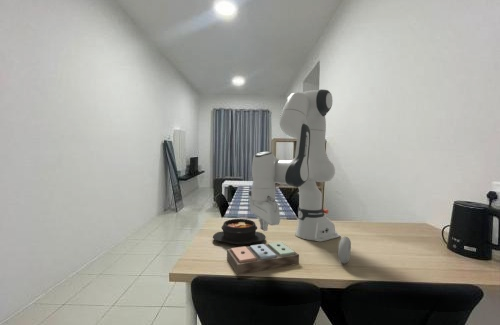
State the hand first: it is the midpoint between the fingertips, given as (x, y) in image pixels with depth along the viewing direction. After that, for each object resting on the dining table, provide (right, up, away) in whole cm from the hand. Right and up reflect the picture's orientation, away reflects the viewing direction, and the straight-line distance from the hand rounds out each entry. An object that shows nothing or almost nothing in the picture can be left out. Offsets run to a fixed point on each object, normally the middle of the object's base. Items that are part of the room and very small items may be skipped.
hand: (263, 229), depth 93 cm
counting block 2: (-1, -11, 0) cm, 11 cm away
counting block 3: (+7, -11, +3) cm, 13 cm away
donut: (+31, -13, 0) cm, 34 cm away
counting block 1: (-8, -11, -3) cm, 14 cm away
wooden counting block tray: (-1, -12, 0) cm, 12 cm away
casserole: (-11, -11, +22) cm, 27 cm away
